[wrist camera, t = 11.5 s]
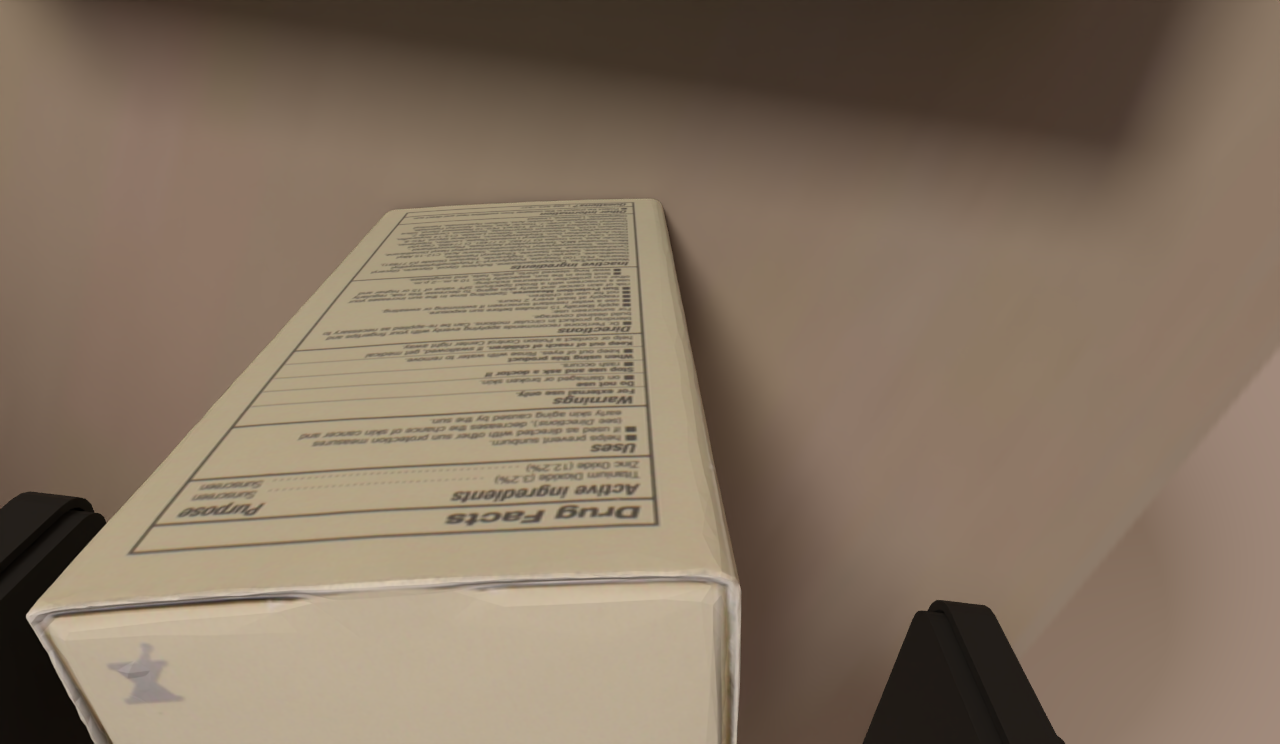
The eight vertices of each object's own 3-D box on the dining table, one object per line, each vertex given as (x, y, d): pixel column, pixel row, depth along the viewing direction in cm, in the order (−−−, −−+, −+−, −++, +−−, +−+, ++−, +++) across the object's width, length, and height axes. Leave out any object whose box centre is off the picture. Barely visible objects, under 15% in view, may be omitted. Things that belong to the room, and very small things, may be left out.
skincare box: (419, 376, 19) (158, 912, 9) (383, 197, 17) (-18, 612, 7) (677, 366, 19) (737, 891, 9) (673, 184, 17) (746, 582, 7)
